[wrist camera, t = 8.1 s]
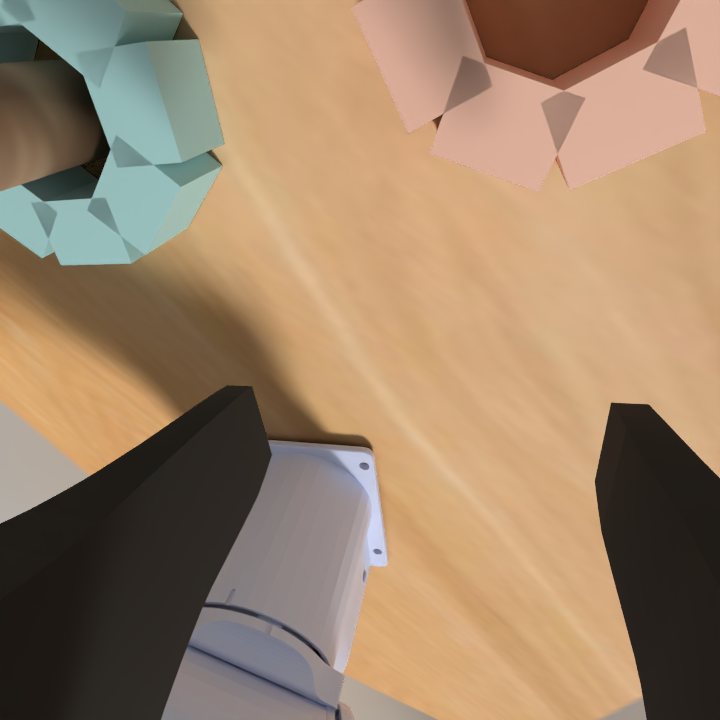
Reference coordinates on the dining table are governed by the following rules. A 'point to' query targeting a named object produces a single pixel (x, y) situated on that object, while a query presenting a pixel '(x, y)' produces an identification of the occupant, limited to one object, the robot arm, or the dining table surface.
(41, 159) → the dowel
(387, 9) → the coral bead
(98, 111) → the teal bead
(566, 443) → the dining table surface
